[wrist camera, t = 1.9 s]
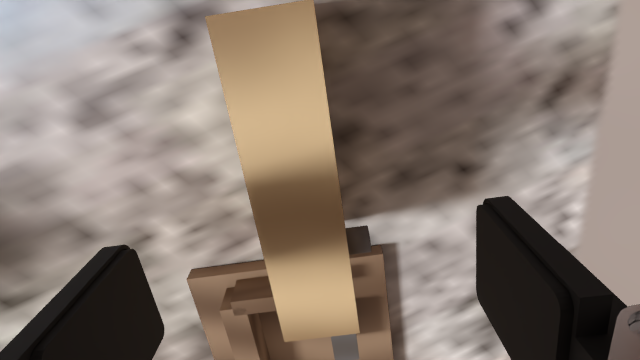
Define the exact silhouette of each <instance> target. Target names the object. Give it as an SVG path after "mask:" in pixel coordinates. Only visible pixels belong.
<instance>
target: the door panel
mask: <svg viewBox="0 0 640 360" xmlns="http://www.w3.org/2000/svg"><path fill="white" fill-rule="evenodd" d="M205 18H206V22H207V27H208V31H209V35H210V39H211V43H212V47H213V51H214V55H215V59H216V63H217V68H218V72H219V76H220V80H221V84H222V88H223V92H224V96H225V100H226V105H227V109H228V113H229V117H230V121H231V125H232V129H233V133H234V137H235V141H236V146H237V150H238V154H239V158H240V162H241V166H242V170H243V174H244V178H245V182H246V187H247V191H248V195H249V199H250V203H251V207H252V211H253V215H254V219H255V224H256V228H257V232H258V236H259V240H260V244H261V248H262V252H263V256H264V260H265V265H266V269H267V273H268V277H269V281H270V285H271V289H272V293H273V297H274V302H275V306H276V310H277V314H278V318H279V322H280V326H281V330H282V334H283V338H284V342H290V341H299V340H307V339H315V338H324V337H332V336H340V335H349V334H357V333H360V330H359V323H358V316H357V309H356V301H355V294H354V287H353V280H352V273H351V265H350V258H349V255H352V254H360V253H368V252H371V243H370V236H369V231H368V226H360V227H352V228H345V222H344V215H343V207H342V200H341V193H340V186H339V179H338V172H337V164H336V157H335V150H334V143H333V136H332V129H331V121H330V114H329V107H328V100H327V93H326V86H325V78H324V71H323V64H322V57H321V50H320V43H319V35H318V28H317V21H316V14H315V7H314V1H313V0H304V1H298V2H292V3H286V4H280V5H273V6H267V7H261V8H255V9H249V10H242V11H236V12H230V13H224V14H218V15H212V16H205Z"/></svg>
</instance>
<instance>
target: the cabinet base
mask: <svg viewBox="0 0 640 360" xmlns="http://www.w3.org/2000/svg"><path fill="white" fill-rule="evenodd" d="M349 258H350V265H351V273H352V280H353V287H354V294H355V301H356V309H357V316H358V323H359V330H360V333H357V334H349V335H340V336H332V337H324V338H315V339H307V340H299V341H290V342H284V338H283V334H282V330H281V326H280V322H279V318H278V314H277V310H276V306H275V302H274V297H273V293H272V289H271V285H270V281H269V277H268V273H267V269H266V265H265V260H261V261H253V262H246V263H238V264H230V265H223V266H215V267H207V268H200V269H192V270H191V272H190V274H189V276H188V278H187V282H188V285H189V288H190V291H191V293H192V296H193V299H194V302H195V305H196V308H197V311H198V314H199V316H200V319H201V322H202V325H203V328H204V331H205V334H206V337H207V340H208V342H209V345H210V348H211V351H212V354H213V357H214V360H393V351H392V341H391V330H390V320H389V310H388V300H387V290H386V280H385V269H384V259H383V252H382V249H381V245H376V246H371V252H368V253H360V254H352V255H349Z"/></svg>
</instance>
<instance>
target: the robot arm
mask: <svg viewBox="0 0 640 360" xmlns="http://www.w3.org/2000/svg"><path fill="white" fill-rule="evenodd" d="M476 291H477V296H478V300H479V302H480V304H481V306H482V308H483V310H484V312H485V313H486V315H487V317H488V319H489V320H490V322H491V324H492V326H493V328H494V329H495V331H496V333H497V335H498V337H499V338H500V340H501V342H502V344H503V346H504V347H505V349H506V351H507V353H508V355H509V356H510V358H511V360H640V304H639V305H632V306H628V307H627V306H626V305H625V304H624V303H623V302H622V301H621V300H620V299H619V298H618V297H617V296H616V295H615V294H614V293H612V292H611V291H610V290H609V289H608V288H607V287H606V286H605V285H604V284H603V283H602V282H601V281H600V280H599V279H597V278H596V277H595V276H594V275H593V274H592V273H591V272H590V271H589V270H588V269H587V268H586V267H585V266H584V265H583V264H581V263H580V262H579V261H578V260H577V259H576V258H575V257H574V256H573V255H572V254H571V253H570V252H569V251H568V250H566V249H565V248H564V247H563V246H562V245H561V244H560V243H558V242H557V241H556V240H555V239H554V238H553V237H552V236H551V235H550V234H549V233H548V232H547V231H546V230H545V229H543V228H542V227H541V226H540V225H539V224H538V223H537V222H536V221H535V220H534V219H533V218H532V217H531V216H530V215H528V214H527V213H526V212H525V211H524V210H523V209H522V208H521V207H520V206H519V205H518V204H517V203H516V202H515V201H514V200H512V199H511V198H510V197H509V196H504V197H496V198H488V199H485V200H484V202H483V205H478V206H477V211H476ZM163 336H164V324H163V321H162V319H161V316H160V313H159V311H158V308H157V306H156V303H155V300H154V298H153V295H152V292H151V290H150V287H149V284H148V282H147V279H146V276H145V274H144V271H143V268H142V266H141V263H140V260H139V258H138V255H137V253H136V251H135V250H134V249H130V248H129V247H128V246H127V245H119V246H111V247H104V248H102V249H101V250H100V251H99V252H98V253H97V254H96V255H95V256H94V257H93V258H92V259H91V260H90V261H89V262H88V263H87V264H86V265H85V266H84V267H83V268H82V269H81V270H80V271H79V272H78V273H77V274H76V275H75V276H74V277H73V278H72V279H71V280H70V282H69V283H68V284H67V285H66V286H65V287H64V288H63V289H62V290H61V291H60V292H59V293H58V294H57V295H56V296H55V297H54V298H53V299H52V300H51V301H50V302H49V303H48V304H47V305H46V306H45V307H44V308H43V309H42V310H41V311H40V312H39V313H38V314H37V315H36V316H35V317H34V318H33V319H32V320H31V321H30V322H29V323H28V324H27V325H26V326H25V327H24V328H23V329H22V331H21V332H20V333H19V334H18V335H17V336H16V337H15V338H14V339H13V340H12V341H11V342H10V343H9V344H8V345H7V346H6V347H5V348H4V349H3V350H2V351H1V352H0V360H152V358H153V357H154V355H155V353H156V351H157V349H158V347H159V345H160V343H161V341H162V339H163Z"/></svg>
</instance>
